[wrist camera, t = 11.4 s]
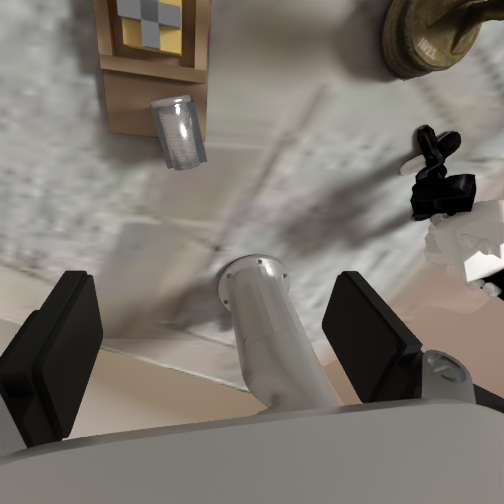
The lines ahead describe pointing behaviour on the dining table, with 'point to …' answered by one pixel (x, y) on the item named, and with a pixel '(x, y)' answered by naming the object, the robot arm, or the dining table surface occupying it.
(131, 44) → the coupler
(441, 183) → the robot toy
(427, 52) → the statue
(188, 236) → the dining table surface
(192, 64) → the bed
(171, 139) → the shaft
